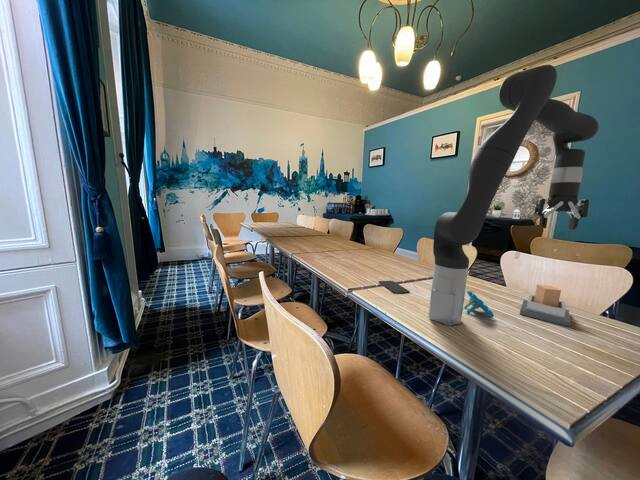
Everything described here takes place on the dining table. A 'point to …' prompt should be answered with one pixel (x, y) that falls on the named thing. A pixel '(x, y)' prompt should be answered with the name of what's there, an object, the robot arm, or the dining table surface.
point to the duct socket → (546, 312)
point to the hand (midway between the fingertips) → (557, 228)
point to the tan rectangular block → (547, 295)
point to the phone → (394, 287)
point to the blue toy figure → (477, 304)
